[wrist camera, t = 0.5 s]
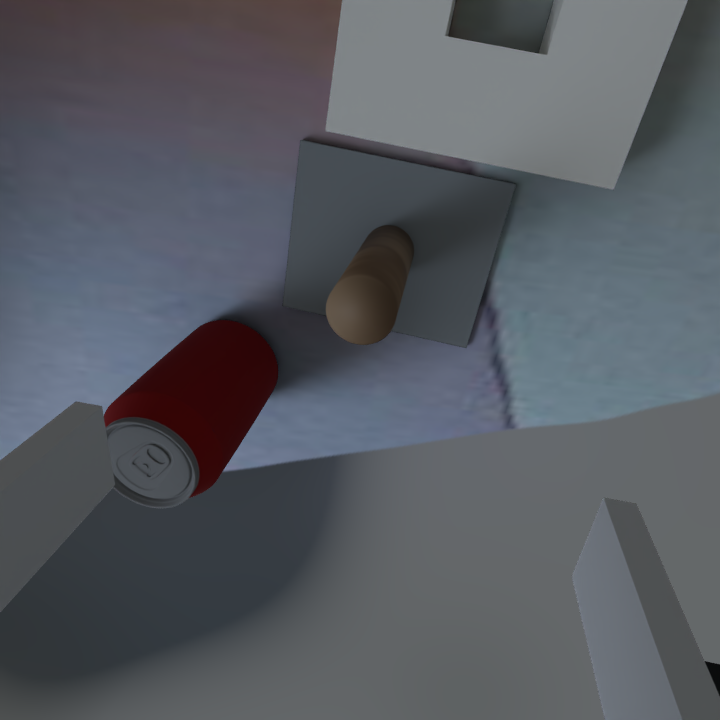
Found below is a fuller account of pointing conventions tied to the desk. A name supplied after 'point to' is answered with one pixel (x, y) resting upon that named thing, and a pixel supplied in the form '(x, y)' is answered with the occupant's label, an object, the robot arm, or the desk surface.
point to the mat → (407, 211)
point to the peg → (371, 287)
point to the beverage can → (189, 414)
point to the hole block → (503, 84)
